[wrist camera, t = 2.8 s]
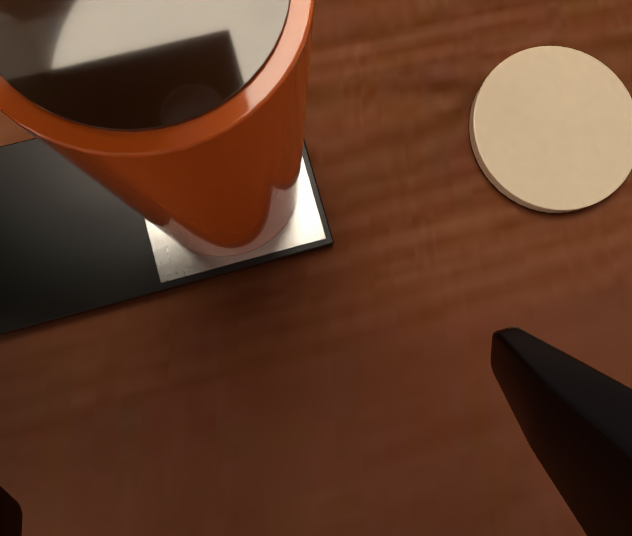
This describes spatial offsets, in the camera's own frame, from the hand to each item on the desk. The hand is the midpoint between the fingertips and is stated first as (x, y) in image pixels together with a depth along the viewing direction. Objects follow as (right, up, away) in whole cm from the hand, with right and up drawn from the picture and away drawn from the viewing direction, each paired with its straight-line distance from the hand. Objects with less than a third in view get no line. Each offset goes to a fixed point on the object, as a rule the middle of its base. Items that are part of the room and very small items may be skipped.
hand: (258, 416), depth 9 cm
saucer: (+12, +9, +15) cm, 21 cm away
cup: (-3, +7, +13) cm, 15 cm away
